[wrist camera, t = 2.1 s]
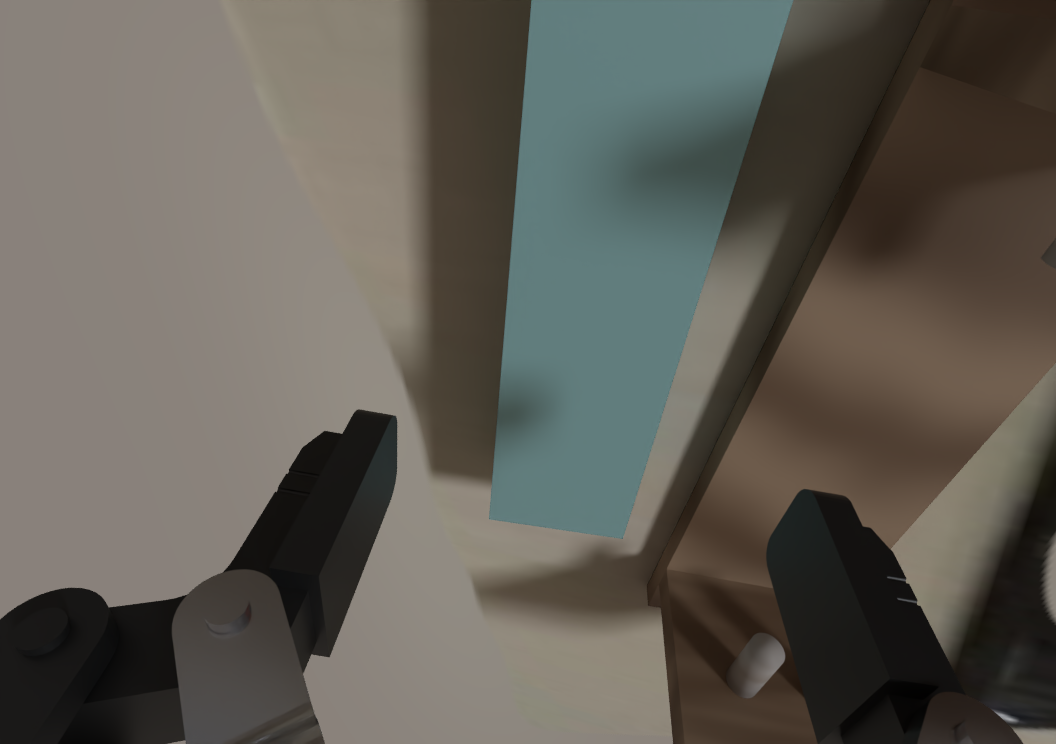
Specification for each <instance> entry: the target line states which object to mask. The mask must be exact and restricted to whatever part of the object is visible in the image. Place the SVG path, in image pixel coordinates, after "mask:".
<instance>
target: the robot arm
mask: <svg viewBox="0 0 1056 744" xmlns="http://www.w3.org/2000/svg"><path fill="white" fill-rule="evenodd" d="M396 474H397V418H396V416H393V415H388V414H382V413H376V412H370V411H365V410H357V411H356V412H355V413H354V414H353V416H352V417H351V419H350V421H349V423H348V425H347V427H346V429H345V430H344V432H343V434H340V433H333V432H328V431H324V432H323V433H321V434H320V435H319V436H317V437H316V438H315V439H313V440H312V441H311V442H309V443H308V444H307V445H305V446H304V447H303V448H302V449H301V451H300V453H299V454H298V456H297V458H296V459H295V461H294V462H293V464H292V466H291V467H290V469H289V473H288V474H286V475H285V477H284V478H283V480H282V482H281V483H280V485H279V487H278V491H277V492H275V493H274V495H273V496H272V498H271V499H270V501H269V503H268V504H267V506H266V508H265V509H264V511H263V513H262V514H261V516H260V517H259V519H258V521H257V522H256V524H255V525H254V527H253V529H252V530H251V532H250V534H249V535H248V537H247V538H246V540H245V542H244V543H243V545H242V547H241V548H240V550H239V551H238V553H237V555H236V556H235V558H234V560H233V561H232V562H231V564H230V565H229V566H228V568H227V569H226V570H225V571H224V572H223V573H220V574H218V575H215V576H213V577H211V578H209V579H207V580H206V581H204V582H202V583H201V584H199V585H198V586H196V587H195V588H194V589H193V590H192V591H191V592H190V593H189V594H187V595H185V596H182V597H178V598H175V599H169V600H163V601H156V602H148V603H140V604H133V605H125V606H118V607H110V608H109V607H108V606H107V604H106V602H105V601H104V599H103V598H102V597H101V596H100V595H98V594H97V593H96V592H93V591H91V590H87V589H83V588H65V589H59V590H54V591H50V592H47V593H44V594H41V595H39V596H36V597H34V598H32V599H30V600H28V601H26V602H24V603H22V604H21V605H19V606H17V607H16V608H14V609H13V610H11V611H10V612H9V613H7V614H6V615H5V616H4V617H3V618H1V619H0V744H168V743H172V742H178V741H183V740H186V744H325V742H324V739H323V736H322V732H321V729H320V726H319V723H318V721H317V718H316V717H315V714H314V711H313V707H312V704H311V701H310V697H309V694H308V691H307V687H306V683H305V680H304V676H303V672H304V670H305V668H306V666H307V663H308V661H309V658H310V656H311V654H313V655H319V656H325V657H330V655H331V652H332V650H333V647H334V644H335V642H336V639H337V637H338V634H339V632H340V629H341V626H342V624H343V621H344V619H345V616H346V613H347V611H348V608H349V606H350V603H351V600H352V598H353V596H354V593H355V590H356V588H357V585H358V583H359V580H360V578H361V575H362V572H363V570H364V567H365V565H366V562H367V560H368V557H369V554H370V552H371V549H372V547H373V544H374V542H375V539H376V536H377V534H378V531H379V529H380V526H381V524H382V521H383V518H384V516H385V513H386V511H387V508H388V506H389V503H390V500H391V497H392V494H393V490H394V486H395V481H396ZM766 562H767V568H768V572H769V575H770V579H771V582H772V586H773V589H774V593H775V596H776V600H777V603H778V607H779V610H780V614H781V617H782V621H783V624H784V628H785V631H786V635H787V638H788V642H789V645H790V649H791V652H792V656H793V659H794V663H795V666H796V670H797V673H798V677H799V680H800V684H801V687H802V691H803V694H804V697H805V701H806V704H807V708H808V711H809V715H810V718H811V722H812V725H813V729H814V732H815V736H816V739H817V743H818V744H1023V743H1022V741H1021V740H1020V738H1019V737H1018V736H1017V734H1016V733H1015V732H1014V731H1013V729H1012V728H1011V727H1010V726H1009V725H1008V724H1007V723H1006V722H1005V721H1004V720H1003V719H1002V718H1001V717H1000V716H998V715H997V714H996V713H995V712H994V711H992V710H991V709H990V708H988V707H987V706H985V705H984V704H982V703H981V702H979V701H977V700H975V699H973V698H971V697H969V696H966V694H965V692H964V690H963V689H962V687H961V685H960V683H959V681H958V679H957V677H956V675H955V673H954V671H953V669H952V667H951V665H950V663H949V661H948V659H947V657H946V655H945V653H944V651H943V649H942V648H941V646H940V644H939V642H938V640H937V638H936V636H935V634H934V632H933V630H932V628H931V626H930V624H929V622H928V620H927V618H926V616H925V614H924V612H923V610H922V608H921V606H918V605H917V601H918V600H917V598H916V596H915V595H914V593H913V591H912V589H911V587H910V585H909V584H907V583H906V577H905V575H904V573H903V571H902V569H901V567H900V565H899V563H898V561H897V559H896V557H895V555H894V553H893V552H892V551H891V550H890V548H889V547H888V546H887V545H886V544H885V543H884V542H883V541H882V540H881V539H880V537H879V536H878V535H877V534H876V533H875V532H874V531H873V530H872V529H871V528H870V527H864V526H862V523H861V521H860V519H859V517H858V515H857V513H856V511H855V509H854V507H853V505H852V503H851V501H850V500H849V499H848V498H847V497H846V496H843V495H838V494H832V493H826V492H821V491H815V490H809V489H803V490H801V491H799V492H798V494H797V495H796V496H795V498H794V500H793V501H792V503H791V504H790V506H789V507H788V509H787V511H786V512H785V514H784V515H783V517H782V519H781V520H780V522H779V523H778V525H777V526H776V528H775V530H774V531H773V533H772V534H771V536H770V538H769V541H768V545H767V551H766Z"/></svg>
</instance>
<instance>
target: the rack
mask: <svg viewBox="0 0 1056 744" xmlns="http://www.w3.org/2000/svg"><path fill="white" fill-rule="evenodd" d="M1055 363H1056V0H931V1H930V3H929V5H928V7H927V9H926V11H925V13H924V15H923V17H922V19H921V21H920V23H919V25H918V27H917V29H916V32H915V34H914V36H913V38H912V40H911V42H910V44H909V46H908V48H907V50H906V52H905V54H904V56H903V58H902V60H901V63H900V65H899V67H898V69H897V71H896V73H895V75H894V77H893V79H892V81H891V83H890V85H889V87H888V89H887V91H886V94H885V96H884V98H883V100H882V102H881V104H880V106H879V108H878V110H877V112H876V114H875V116H874V118H873V120H872V122H871V125H870V127H869V129H868V131H867V133H866V135H865V137H864V139H863V141H862V143H861V145H860V147H859V149H858V151H857V153H856V156H855V158H854V160H853V162H852V164H851V166H850V168H849V170H848V172H847V174H846V176H845V178H844V180H843V182H842V184H841V187H840V189H839V191H838V193H837V195H836V197H835V199H834V201H833V203H832V205H831V207H830V209H829V211H828V213H827V215H826V218H825V220H824V222H823V224H822V226H821V228H820V230H819V232H818V234H817V236H816V238H815V240H814V242H813V244H812V246H811V249H810V251H809V253H808V255H807V257H806V259H805V261H804V263H803V265H802V267H801V269H800V271H799V273H798V275H797V277H796V280H795V282H794V284H793V286H792V288H791V290H790V292H789V294H788V296H787V298H786V300H785V302H784V304H783V306H782V308H781V311H780V313H779V315H778V317H777V319H776V321H775V323H774V325H773V327H772V329H771V331H770V333H769V335H768V337H767V339H766V342H765V344H764V346H763V348H762V350H761V352H760V354H759V356H758V358H757V360H756V362H755V364H754V366H753V368H752V370H751V373H750V375H749V377H748V379H747V381H746V383H745V385H744V387H743V389H742V391H741V393H740V395H739V397H738V399H737V401H736V404H735V406H734V408H733V410H732V412H731V414H730V416H729V418H728V420H727V422H726V424H725V426H724V428H723V430H722V432H721V435H720V437H719V439H718V441H717V443H716V445H715V447H714V449H713V451H712V453H711V455H710V457H709V459H708V461H707V463H706V466H705V468H704V470H703V472H702V474H701V476H700V478H699V480H698V482H697V484H696V486H695V488H694V490H693V492H692V494H691V497H690V499H689V501H688V503H687V505H686V507H685V509H684V511H683V513H682V515H681V517H680V519H679V521H678V523H677V525H676V528H675V530H674V532H673V534H672V536H671V538H670V540H669V542H668V544H667V546H666V548H665V550H664V552H663V554H662V556H661V559H660V561H659V563H658V565H657V567H656V569H655V571H654V573H653V575H652V577H651V579H650V581H649V583H648V585H647V595H648V605H649V606H654V607H660V608H661V613H662V624H663V635H664V646H665V657H666V669H667V680H668V691H669V702H670V713H671V724H672V736H673V744H818V743H817V739H816V736H815V732H814V729H813V725H812V722H811V718H810V715H809V711H808V708H807V704H806V701H805V697H804V694H803V691H802V687H801V684H800V680H799V677H798V673H797V670H796V666H795V663H794V659H793V656H792V652H791V649H790V645H789V642H788V638H787V635H786V631H785V628H784V624H783V621H782V617H781V614H780V610H779V607H778V603H777V600H776V596H775V593H774V589H773V586H772V582H771V579H770V575H769V572H768V568H767V562H766V551H767V545H768V541H769V538H770V536H771V534H772V533H773V531H774V530H775V528H776V526H777V525H778V523H779V522H780V520H781V519H782V517H783V515H784V514H785V512H786V511H787V509H788V507H789V506H790V504H791V503H792V501H793V500H794V498H795V496H796V495H797V494H798V492H799V491H801V490H803V489H809V490H815V491H821V492H826V493H832V494H838V495H843V496H846V497H847V498H848V499H849V500H850V501H851V503H852V505H853V507H854V509H855V511H856V513H857V515H858V517H859V519H860V521H861V523H862V526H864V527H870V528H871V529H872V530H873V531H874V532H875V533H876V534H877V535H878V536H879V537H880V539H881V540H882V541H883V542H884V543H885V544H886V545H887V546H888V547H889V548H890V549H891V548H892V547H893V545H894V544H895V543H896V542H897V541H898V540H899V539H900V538H901V536H902V535H903V534H904V533H905V532H906V531H907V530H908V529H909V527H910V526H911V525H912V524H913V523H914V522H915V521H916V520H917V518H918V517H919V516H920V515H921V514H922V513H923V512H924V511H925V509H926V508H927V507H928V506H929V505H930V504H931V503H932V502H933V500H934V499H935V498H936V497H937V496H938V495H939V494H940V492H941V491H942V490H943V489H944V488H945V487H946V486H947V485H948V483H949V482H950V481H951V480H952V479H953V478H954V477H955V476H956V474H957V473H958V472H959V471H960V470H961V469H962V468H963V467H964V465H965V464H966V463H967V462H968V461H969V460H970V459H971V458H972V456H973V455H974V454H975V453H976V452H977V451H978V450H979V449H980V447H981V446H982V445H983V444H984V443H985V442H986V441H987V440H988V438H989V437H990V436H991V435H992V434H993V433H994V432H995V431H996V429H997V428H998V427H999V426H1000V425H1001V424H1002V423H1003V421H1004V420H1005V419H1006V418H1007V417H1008V416H1009V415H1010V414H1011V412H1012V411H1013V410H1014V409H1015V408H1016V407H1017V406H1018V405H1019V403H1020V402H1021V401H1022V400H1023V399H1024V398H1025V397H1026V396H1027V394H1028V393H1029V392H1030V391H1031V390H1032V389H1033V388H1034V387H1035V385H1036V384H1037V383H1038V382H1039V381H1040V380H1041V379H1042V378H1043V376H1044V375H1045V374H1046V373H1047V372H1048V371H1049V370H1050V369H1051V367H1052V366H1053V365H1054V364H1055Z"/></svg>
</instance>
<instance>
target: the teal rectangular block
mask: <svg viewBox="0 0 1056 744" xmlns="http://www.w3.org/2000/svg"><path fill="white" fill-rule="evenodd" d="M792 3H793V0H531V12H530V25H529V37H528V49H527V61H526V74H525V86H524V98H523V110H522V122H521V135H520V147H519V159H518V171H517V184H516V196H515V208H514V220H513V233H512V245H511V257H510V269H509V281H508V294H507V306H506V318H505V330H504V343H503V355H502V367H501V379H500V392H499V404H498V416H497V428H496V440H495V453H494V465H493V477H492V489H491V502H490V514H489V519H491V520H498V521H505V522H511V523H518V524H525V525H532V526H539V527H545V528H552V529H559V530H566V531H573V532H580V533H586V534H593V535H600V536H607V537H614V538H620V539H623V536H624V533H625V530H626V527H627V524H628V521H629V517H630V514H631V511H632V508H633V505H634V502H635V498H636V495H637V492H638V489H639V486H640V483H641V479H642V476H643V473H644V470H645V467H646V464H647V461H648V457H649V454H650V451H651V448H652V445H653V442H654V438H655V435H656V432H657V429H658V426H659V423H660V420H661V416H662V413H663V410H664V407H665V404H666V401H667V397H668V394H669V391H670V388H671V385H672V382H673V379H674V375H675V372H676V369H677V366H678V363H679V360H680V356H681V353H682V350H683V347H684V344H685V341H686V338H687V334H688V331H689V328H690V325H691V322H692V319H693V315H694V312H695V309H696V306H697V303H698V300H699V296H700V293H701V290H702V287H703V284H704V281H705V278H706V274H707V271H708V268H709V265H710V262H711V259H712V255H713V252H714V249H715V246H716V243H717V240H718V237H719V233H720V230H721V227H722V224H723V221H724V218H725V214H726V211H727V208H728V205H729V202H730V199H731V196H732V192H733V189H734V186H735V183H736V180H737V177H738V173H739V170H740V167H741V164H742V161H743V158H744V155H745V151H746V148H747V145H748V142H749V139H750V136H751V132H752V129H753V126H754V123H755V120H756V117H757V113H758V110H759V107H760V104H761V101H762V98H763V95H764V91H765V88H766V85H767V82H768V79H769V76H770V72H771V69H772V66H773V63H774V60H775V57H776V54H777V50H778V47H779V44H780V41H781V38H782V35H783V31H784V28H785V25H786V22H787V19H788V16H789V13H790V9H791V6H792Z"/></svg>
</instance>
